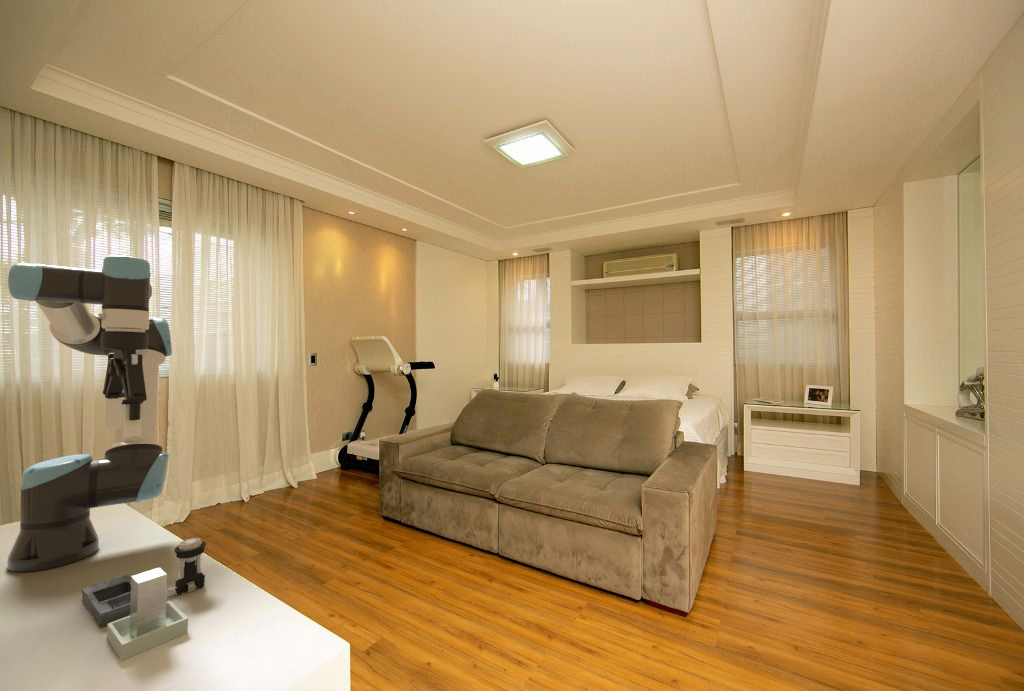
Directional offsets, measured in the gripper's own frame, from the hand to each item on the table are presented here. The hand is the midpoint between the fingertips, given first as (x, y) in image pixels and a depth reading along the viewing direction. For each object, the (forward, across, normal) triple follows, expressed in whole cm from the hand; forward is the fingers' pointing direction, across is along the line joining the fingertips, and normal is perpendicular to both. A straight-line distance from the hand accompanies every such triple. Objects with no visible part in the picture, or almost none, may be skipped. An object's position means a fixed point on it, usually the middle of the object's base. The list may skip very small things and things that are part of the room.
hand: (122, 432), depth 92 cm
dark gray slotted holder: (+33, +7, -2) cm, 34 cm away
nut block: (+32, +23, -1) cm, 40 cm away
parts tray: (+33, +23, -1) cm, 40 cm away
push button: (+33, +11, +8) cm, 36 cm away
